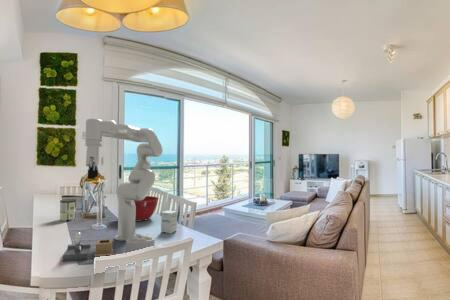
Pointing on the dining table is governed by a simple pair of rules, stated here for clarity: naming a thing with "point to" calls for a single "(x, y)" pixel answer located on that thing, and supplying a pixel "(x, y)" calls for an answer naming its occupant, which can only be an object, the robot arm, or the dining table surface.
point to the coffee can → (67, 209)
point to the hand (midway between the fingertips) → (92, 177)
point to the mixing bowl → (145, 207)
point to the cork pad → (103, 254)
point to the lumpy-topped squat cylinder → (139, 242)
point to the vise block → (77, 250)
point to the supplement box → (169, 221)
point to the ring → (104, 246)
